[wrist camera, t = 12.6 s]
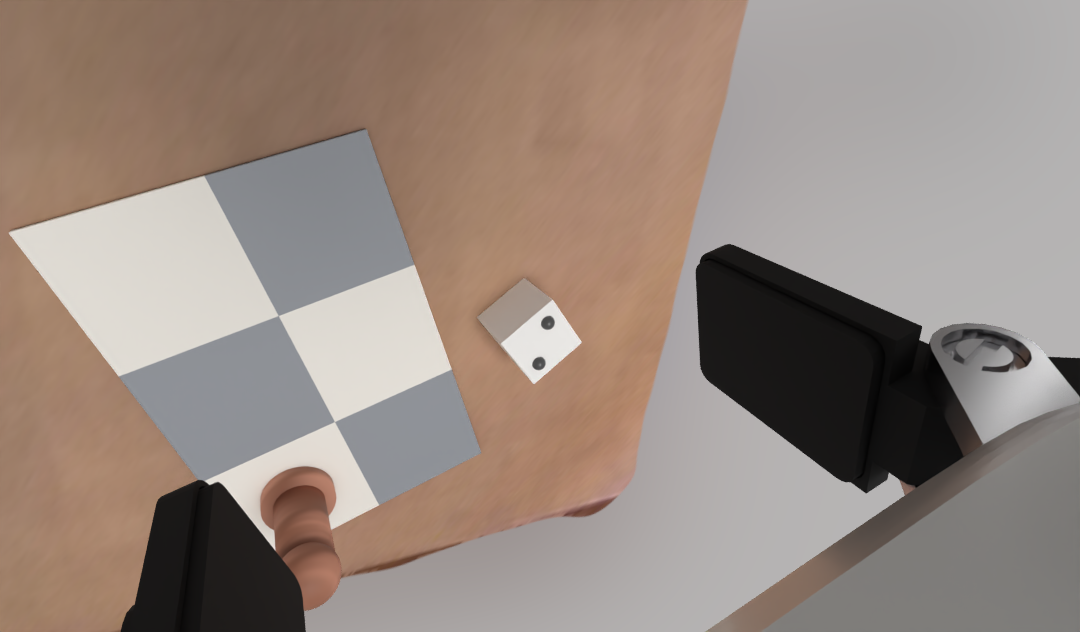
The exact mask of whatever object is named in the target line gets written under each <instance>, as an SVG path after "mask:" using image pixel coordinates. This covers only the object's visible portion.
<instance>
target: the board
mask: <svg viewBox="0 0 1080 632" xmlns="http://www.w3.org/2000/svg"><path fill="white" fill-rule="evenodd" d="M9 234H10V235H11V237H12V238H13V239H14V241H15V242H16V243H17V244H18V246H19V247H20V248H21V250H22V251H23V252H24V254H25V255H26V256H27V257H28V259H29V260H30V261H31V263H32V264H33V265H34V267H35V268H36V269H37V270H38V272H39V273H40V274H41V276H42V277H43V278H44V280H45V281H46V282H47V284H48V285H49V286H50V287H51V289H52V290H53V291H54V293H55V294H56V295H57V297H58V298H59V299H60V300H61V302H62V303H63V304H64V306H65V307H66V308H67V310H68V311H69V312H70V314H71V315H72V316H73V317H74V319H75V320H76V321H77V323H78V324H79V325H80V327H81V328H82V329H83V330H84V332H85V333H86V334H87V336H88V337H89V338H90V340H91V341H92V342H93V343H94V345H95V346H96V347H97V349H98V350H99V351H100V353H101V354H102V355H103V357H104V358H105V359H106V360H107V362H108V363H109V364H110V366H111V367H112V368H113V370H114V371H115V372H116V373H117V375H118V376H119V377H120V379H121V380H122V381H123V383H124V384H125V385H126V387H127V388H128V389H129V390H130V392H131V393H132V394H133V396H134V397H135V398H136V400H137V401H138V402H139V403H140V405H141V406H142V407H143V409H144V410H145V411H146V413H147V414H148V415H149V416H150V418H151V419H152V420H153V422H154V423H155V424H156V426H157V427H158V428H159V430H160V431H161V432H162V433H163V435H164V436H165V437H166V439H167V440H168V441H169V443H170V444H171V445H172V446H173V448H174V449H175V450H176V452H177V453H178V454H179V456H180V457H181V458H182V460H183V461H184V462H185V463H186V465H187V466H188V467H189V469H190V470H191V471H192V473H193V474H194V475H195V476H196V478H197V479H198V480H203V481H205V482H207V483H208V484H209V485H211V484H213V483H215V482H220V483H221V484H223V485H224V487H225V488H226V489H227V490H228V491H229V493H230V494H231V495H232V496H233V498H234V499H235V500H236V502H237V503H238V504H239V505H240V507H241V508H242V509H243V510H244V512H245V513H246V514H247V515H248V517H249V518H250V519H251V520H252V522H253V523H254V524H255V526H256V527H257V528H258V529H259V531H260V532H261V533H262V534H263V536H264V537H265V538H266V539H267V541H268V542H269V543H270V544H271V546H272V547H273V548H274V550H275V535H274V530H272V529H271V528H269V527H268V526H267V525H266V524H265V523H264V522H263V520H262V517H261V510H260V497H261V493H262V491H263V489H264V487H265V486H266V484H267V483H268V482H269V481H270V480H271V479H272V478H274V477H275V476H276V475H278V474H279V473H281V472H283V471H286V470H288V469H291V468H295V467H302V466H309V467H315V468H319V469H321V470H323V471H325V472H326V473H328V474H329V475H330V477H331V478H332V480H333V483H334V487H335V492H336V504H335V507H334V509H333V511H332V512H331V514H330V515H329V521H330V527H331V530H332V529H333V528H335V527H337V526H339V525H341V524H343V523H345V522H347V521H349V520H351V519H353V518H355V517H357V516H359V515H361V514H363V513H365V512H367V511H369V510H371V509H373V508H375V507H376V506H378V505H380V504H382V503H384V502H386V501H388V500H390V499H392V498H394V497H396V496H398V495H400V494H402V493H404V492H406V491H408V490H410V489H412V488H414V487H416V486H418V485H419V484H421V483H423V482H425V481H427V480H429V479H431V478H433V477H435V476H437V475H439V474H441V473H443V472H445V471H447V470H449V469H451V468H453V467H455V466H457V465H459V464H461V463H462V462H464V461H466V460H468V459H470V458H472V457H474V456H476V455H478V454H480V453H481V451H480V448H479V445H478V442H477V440H476V437H475V434H474V431H473V428H472V425H471V423H470V420H469V417H468V414H467V411H466V409H465V406H464V403H463V400H462V397H461V394H460V392H459V389H458V386H457V383H456V380H455V378H454V375H453V372H452V369H451V366H450V363H449V361H448V358H447V355H446V352H445V349H444V347H443V344H442V341H441V338H440V335H439V332H438V330H437V327H436V324H435V321H434V318H433V316H432V313H431V310H430V307H429V304H428V302H427V299H426V296H425V293H424V290H423V287H422V285H421V282H420V279H419V276H418V273H417V271H416V268H415V265H414V262H413V259H412V256H411V254H410V251H409V248H408V245H407V242H406V240H405V237H404V234H403V231H402V228H401V225H400V223H399V220H398V217H397V214H396V211H395V209H394V206H393V203H392V200H391V197H390V194H389V192H388V189H387V186H386V183H385V180H384V178H383V175H382V172H381V169H380V166H379V163H378V161H377V158H376V155H375V152H374V149H373V147H372V144H371V141H370V138H369V135H368V133H367V130H366V129H363V130H359V131H356V132H352V133H349V134H345V135H342V136H338V137H335V138H331V139H328V140H324V141H321V142H318V143H314V144H311V145H307V146H304V147H300V148H297V149H293V150H290V151H286V152H283V153H279V154H276V155H272V156H269V157H265V158H262V159H258V160H255V161H252V162H248V163H245V164H241V165H238V166H234V167H231V168H227V169H224V170H220V171H217V172H213V173H210V174H206V175H203V176H199V177H196V178H192V179H189V180H185V181H182V182H179V183H175V184H172V185H168V186H165V187H161V188H158V189H154V190H151V191H147V192H144V193H140V194H137V195H133V196H130V197H126V198H123V199H119V200H116V201H112V202H109V203H106V204H102V205H99V206H95V207H92V208H88V209H85V210H81V211H78V212H74V213H71V214H67V215H64V216H60V217H57V218H53V219H50V220H46V221H43V222H39V223H36V224H33V225H29V226H26V227H22V228H19V229H15V230H12V231H10V232H9ZM275 551H276V550H275Z"/></svg>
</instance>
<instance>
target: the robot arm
mask: <svg viewBox="0 0 1080 632" xmlns="http://www.w3.org/2000/svg"><path fill="white" fill-rule="evenodd" d="M696 288H697V307H698V329H699V348H700V366H701V370H702V373H703V375H704V376H705V378H706V379H707V380H708V381H709V382H710V383H712V384H713V385H714V386H716V387H717V388H718V389H719V390H721V391H722V392H724V393H725V394H726V395H728V396H729V397H730V398H731V399H733V400H734V401H735V402H737V403H738V404H739V405H741V406H742V407H743V408H745V409H746V410H747V411H749V412H750V413H751V414H753V415H754V416H755V417H757V418H758V419H759V420H761V421H762V422H763V423H765V424H766V425H767V426H768V427H770V428H771V429H773V430H774V431H775V432H777V433H778V434H779V435H780V436H782V437H783V438H784V439H786V440H787V441H788V442H790V443H791V444H792V445H794V446H795V447H796V448H798V449H799V450H800V451H802V452H803V453H804V454H806V455H807V456H808V457H810V458H811V459H812V460H813V461H815V462H816V463H817V464H819V465H820V466H821V467H823V468H824V469H826V470H827V471H828V472H830V473H831V474H832V475H833V476H835V477H836V478H838V479H839V480H841V481H844V482H851V483H853V484H854V485H855V486H857V487H858V488H859V489H861V490H862V491H864V492H865V493H868V492H869V491H871V490H872V489H874V488H875V487H877V486H878V485H880V484H881V483H883V482H884V481H886V480H887V478H888V474H889V473H891V474H892V475H894V476H895V477H897V478H898V479H899V480H900V483H901V485H902V488H903V491H904V494H905V496H904V497H902V498H901V499H899V500H898V501H896V502H895V503H893V504H892V505H890V506H889V507H888V508H886V509H885V510H883V511H882V512H880V513H879V514H877V515H876V516H874V517H873V518H872V519H870V520H868V521H867V522H865V523H864V524H863V525H861V526H860V527H858V528H857V529H855V530H854V531H852V532H851V533H849V534H848V535H846V536H845V537H843V538H842V539H840V540H839V541H838V542H836V543H834V544H833V545H832V546H830V547H829V548H827V549H826V550H824V551H823V552H821V553H820V554H818V555H817V556H815V557H814V558H812V559H811V560H809V561H808V562H806V563H805V564H804V565H802V566H801V567H799V568H798V569H796V570H795V571H793V572H792V573H791V574H789V575H788V576H786V577H785V578H783V579H782V580H780V581H779V582H778V583H776V584H774V585H773V586H771V587H770V588H769V589H767V590H766V591H764V592H763V593H761V594H760V595H758V596H757V597H756V598H754V599H753V600H751V601H750V602H748V603H747V604H745V605H744V606H742V607H741V608H739V609H738V610H736V611H735V612H734V613H732V614H731V615H729V616H728V617H726V618H725V619H724V620H722V621H720V622H719V623H718V624H716V625H715V626H713V627H712V628H710V629H709V630H707V631H706V632H1080V358H1060V357H1047V356H1046V355H1045V353H1044V352H1043V351H1042V350H1041V349H1040V348H1039V347H1038V346H1037V345H1036V344H1035V343H1033V342H1032V341H1031V340H1030V339H1027V338H1026V337H1024V336H1022V335H1020V334H1018V333H1016V332H1013V331H1010V330H1007V329H1004V328H1001V327H996V326H991V325H986V324H971V323H964V324H954V325H950V326H947V327H944V328H941V329H939V330H938V331H936V332H935V333H934V334H933V335H932V337H931V339H930V342H929V344H927V343H924V342H923V341H920V340H919V338H920V334H921V329H922V326H920V325H918V324H916V323H913V322H911V321H909V320H906V319H904V318H902V317H899V316H897V315H894V314H892V313H890V312H888V311H885V310H883V309H881V308H878V307H876V306H874V305H871V304H869V303H867V302H864V301H862V300H860V299H857V298H855V297H853V296H851V295H848V294H846V293H843V292H841V291H839V290H837V289H834V288H832V287H830V286H827V285H825V284H823V283H820V282H818V281H816V280H813V279H811V278H809V277H806V276H804V275H802V274H799V273H797V272H795V271H792V270H790V269H788V268H786V267H783V266H781V265H778V264H776V263H774V262H772V261H769V260H767V259H765V258H762V257H760V256H758V255H755V254H753V253H750V252H748V251H746V250H743V249H741V248H739V247H736V246H734V245H731V244H727V245H724V246H722V247H719V248H717V249H715V250H713V251H710V252H708V253H706V254H704V255H703V256H702V257H701V260H700V264H699V265H698V266H697V268H696ZM121 632H306V630H305V618H304V606H303V596H302V591H301V587H300V585H299V582H298V580H297V578H296V576H295V575H294V574H293V572H292V571H291V570H290V568H289V567H288V566H287V565H286V563H285V562H284V561H283V560H282V558H281V557H280V556H279V555H278V553H277V552H276V551H275V550H274V548H273V547H272V546H271V544H270V543H269V542H268V541H267V539H266V538H265V537H264V536H263V534H262V533H261V532H260V531H259V529H258V528H257V527H256V526H255V524H254V523H253V522H252V520H251V519H250V518H249V517H248V515H247V514H246V513H245V512H244V510H243V509H242V508H241V507H240V505H239V504H238V503H237V502H236V500H235V499H234V498H233V496H232V495H231V494H230V493H229V491H228V490H227V489H226V488H225V487H224V485H223V484H221V483H220V482H215V483H213V484H211V485H209V484H208V483H207V482H205V481H203V480H197V481H195V482H193V483H191V484H188V485H186V486H184V487H182V488H179V489H177V490H175V491H173V492H170V493H168V494H166V495H164V496H162V497H160V498H159V499H158V501H157V504H156V508H155V513H154V517H153V522H152V527H151V531H150V536H149V541H148V545H147V550H146V555H145V559H144V564H143V569H142V573H141V578H140V583H139V587H138V592H137V597H136V601H135V605H133V606H132V607H131V608H130V610H129V611H128V612H127V613H126V616H125V619H124V621H123V624H122V628H121Z"/></svg>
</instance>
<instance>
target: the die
mask: <svg viewBox="0 0 1080 632" xmlns="http://www.w3.org/2000/svg"><path fill="white" fill-rule="evenodd" d="M477 319H478V320H479V321H480V322H481V323H482V325H483V326H484V327H485V328H486V329H487V331H488V332H489V333H490V334H491V336H492V337H493V338H494V339H495V340H496V342H497V343H498V344H499V345H500V346H501V348H502V349H503V350H504V351H505V352H506V354H507V355H508V356H509V357H510V358H511V359H512V360H513V362H514V363H515V364H516V365H517V366H518V367H519V368H520V369H521V370H522V372H523V373H524V374H525V375H526V376H527V377H528V378H529V379H530V380H531V382H532V383H533V384H535V383H536V382H537V381H538V380H539V379H540V378H542V377H543V376H544V375H545V374H546V373H547V372H549V371H550V370H551V369H552V368H553V367H554V366H555V365H557V364H558V363H559V362H560V361H561V360H562V359H563V358H565V357H566V356H567V355H568V354H569V353H570V352H572V351H573V350H574V349H575V348H576V347H577V346H578V345H580V344H581V343H582V342H581V341H580V339H579V338H578V336H577V335H576V333H575V332H574V330H573V329H572V327H571V326H570V324H569V323H568V321H567V320H566V319H565V317H564V316H563V314H562V313H561V311H560V310H559V308H558V307H557V305H556V304H555V302H554V301H553V299H551V298H550V297H549V296H547V295H546V294H545V293H543V292H542V291H541V290H539V289H538V288H537V287H536V286H534V285H533V284H532V283H530V282H529V281H528V280H526V279H525V278H523V279H522V280H521V281H520V282H518V283H517V284H516V285H515V286H514V287H512V288H511V289H510V290H509V291H508V292H506V293H505V294H504V295H503V296H502V297H500V298H499V299H498V300H497V301H496V302H494V303H493V304H492V305H491V306H490V307H489V308H487V309H486V310H485V311H484V312H483V313H481V314H480V315H479V316H478V317H477Z"/></svg>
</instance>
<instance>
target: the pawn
mask: <svg viewBox="0 0 1080 632" xmlns="http://www.w3.org/2000/svg"><path fill="white" fill-rule="evenodd" d="M335 504H336V492H335V487H334V483H333V480H332V478H331V477H330V475H329V474H328V473H326V472H325V471H323V470H321V469H319V468H315V467H309V466H302V467H295V468H291V469H288V470H286V471H283V472H281V473H279V474H278V475H276V476H275V477H274V478H272V479H271V480H270V481H269V482H268V483H267V484H266V486H265V487H264V489H263V491H262V493H261V497H260V510H261V517H262V520H263V522H264V523H265V524H266V525H267V526H268V527H269V528H271V529H272V530H274V535H275V550H276V552H277V553H278V555H279V556H280V557H281V558H282V560H283V561H284V562H285V563H286V565H287V566H288V567H289V568H290V570H291V571H292V572H293V574H294V575H295V576H296V578H297V580H298V582H299V585H300V587H301V591H302V596H303V606H304V611H306V610H311V609H314V608H317V607H319V606H320V605H322V604H324V603H325V602H326V601H327V600H328V599H329V598H330V597H331V596H332V595H333V594H334V592H335V591H336V589H337V587H338V585H339V582H340V579H341V571H342V570H341V563H340V559H339V557H338V555H337V554H336V552H335V548H334V543H333V537H332V532H331V527H330V521H329V515H330V514H331V512H332V511H333V509H334V507H335Z"/></svg>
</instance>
